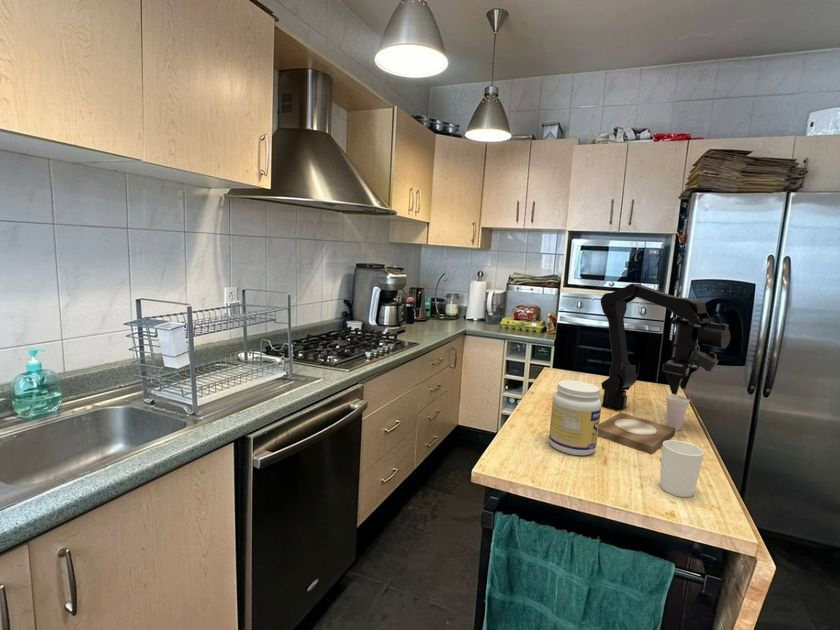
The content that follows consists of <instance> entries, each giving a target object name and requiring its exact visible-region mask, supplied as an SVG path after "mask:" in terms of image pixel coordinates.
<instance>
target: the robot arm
mask: <svg viewBox="0 0 840 630" xmlns="http://www.w3.org/2000/svg"><path fill="white" fill-rule="evenodd" d="M637 298H638V299H640V300H644V301H646V302H649V303H652V304H655V305H657V306H660V307H663V308H665V309H668V311H670V312H671V313H673V314H674V315H676V316H677V317H676V318H675V319H673V320H671V321H670V324H671V325H677V329H676V336H675V342H673V343H672V348H674V349H673V355H672V356H671V357H670V360H667V361H666V362H664V363H663V364H662V368H661V370H662V371H663V374H664V376H665V378H666V379H667V383H668V386H669V390H670V392H671V395H676V394H677V392H678V393H679V390H680V389H682V390H686V388H687V386H688V383H689V382H690V380H691V377H692V375H693V373H695V372H696V371H698V370H700V369H701V368H702V369H704V371H707V372H709V373H711V372H713V371H714V369H715V367H716V366H717V365H718V363H719V361H720V360H719V359H717V354H716V353H715V352H713V351H710V352H708V353H706V352H702V351H701V350H700V349H701V347H700V345H699V344H698V343H699V342H700V344H701V345H704V346H709V347H712V348H713V347H714V348H718V349H723V350H725V349H726V348H727V347H728V346H729V344H730V342H731V332H730V329H729V326H730V325H729V324H726V323H715V322H714V321H712V318H711V317H710V315H709V313H708V312H707V306H706V304H705V302H704V301H703V300H701V299H695V298H691V297H681V296H675V295H672V294H669V293H666V292H662V291H660V290H658V289H654V288H652V287H651V288H650V287H647V286H645V285H643V284H641V283H630V284H628V285H625V286H623V287H622V288H619V289H617V290H614V291H612V292H606V293H604V294H603V295H602V297H600V306H601V309H602V312H603V314H604V315H605V317H606V319H607V323H608V330H609V339H610V341H609V342H610V350H611V357H612V362H611V366H610V368H609V370H608V371H609V373H608V374H609V375H608V376H609V377H608V378H607V379H605V380H603V381H602V382H601V383H600V384H601V388H602V390H604V391H603V398H602V402H601V407H604V408H606V409H609V410H614V411H617V412H621V411H622V410H624V409H626V408H627V402H628V395H627V391H629V390H630V388H631V387H632V386H634V384H635V383H636V382H637V378H638V375H637V366H636V365H635V364H634V365H632V364H631V363H630V360H629V356H628V347H627V345H628V344H627V339H626V331H625V329H626V328H625V319H624V317H625V315H626V312H627V310H628V309H627V308H628V307H627V306H628V305H627V304H628V303H630V302H632V301H634V300H635V299H637ZM678 389H679V390H678Z"/></svg>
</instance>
